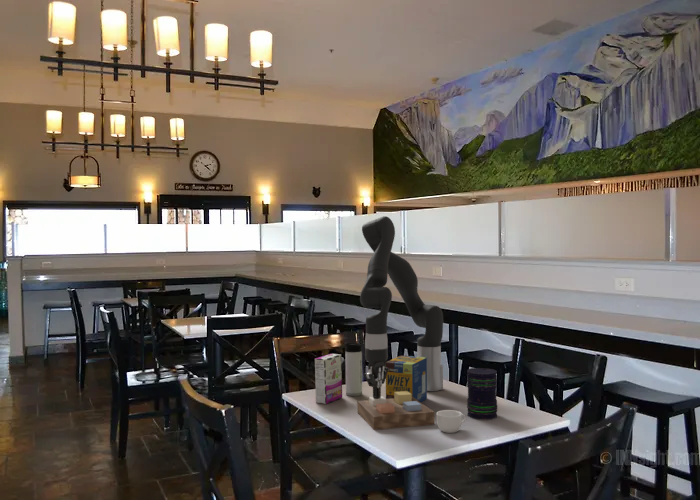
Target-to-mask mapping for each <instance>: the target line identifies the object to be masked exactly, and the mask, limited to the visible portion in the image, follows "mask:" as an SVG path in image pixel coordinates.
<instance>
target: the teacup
mask: <svg viewBox="0 0 700 500" xmlns="http://www.w3.org/2000/svg"><path fill="white" fill-rule="evenodd" d="M465 421H466V415H465V414H463V413H462V412H461V411H459V410H456V409H455V410H454V409H453V410H452V409H442V410H439V411H437V412H436V423H437V425H436V426H437V427H438V428H439V430H440V431H441V432H443V433H444V434H445V433H448V434H455V433H457V432H458V431H459V430H460V429H461V427H462V424H463V423H465Z"/></svg>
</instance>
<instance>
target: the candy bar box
mask: <svg viewBox="0 0 700 500" xmlns="http://www.w3.org/2000/svg"><path fill="white" fill-rule="evenodd" d="M342 373H343V372H342V354H338V353H329V354H326V355H322V356H319V357H316V358H314V378H315V379H314V382H315V385H314V386H315V403H316V404H320V405H321V404H322V405H328V404H331V403H333V402H335V401H337V400H340V399H342V398H343V378H342V377H343V376H342V375H343V374H342Z"/></svg>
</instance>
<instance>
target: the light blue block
mask: <svg viewBox="0 0 700 500" xmlns="http://www.w3.org/2000/svg"><path fill="white" fill-rule="evenodd" d="M403 409H405V410H406V411H419V410H421V404H420V403H418V402H417V401H409V402H403Z"/></svg>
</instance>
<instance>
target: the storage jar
mask: <svg viewBox="0 0 700 500" xmlns="http://www.w3.org/2000/svg"><path fill="white" fill-rule="evenodd" d="M497 374H498V373H497V370H496V369H493V368H488V367H474V368H468V369H466V382H467V383H466V387H467V404H466V405H467V406H466V408H467V416H468V417H469V418H471V419H474V420H480V421H481V420H483V421H484V420H485V421H487V420H489V421H490V420H493V419H494V420H495V419H497V418H498V413H497V412H498V400H497V389H498V384H497V383H498V376H497Z"/></svg>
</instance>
